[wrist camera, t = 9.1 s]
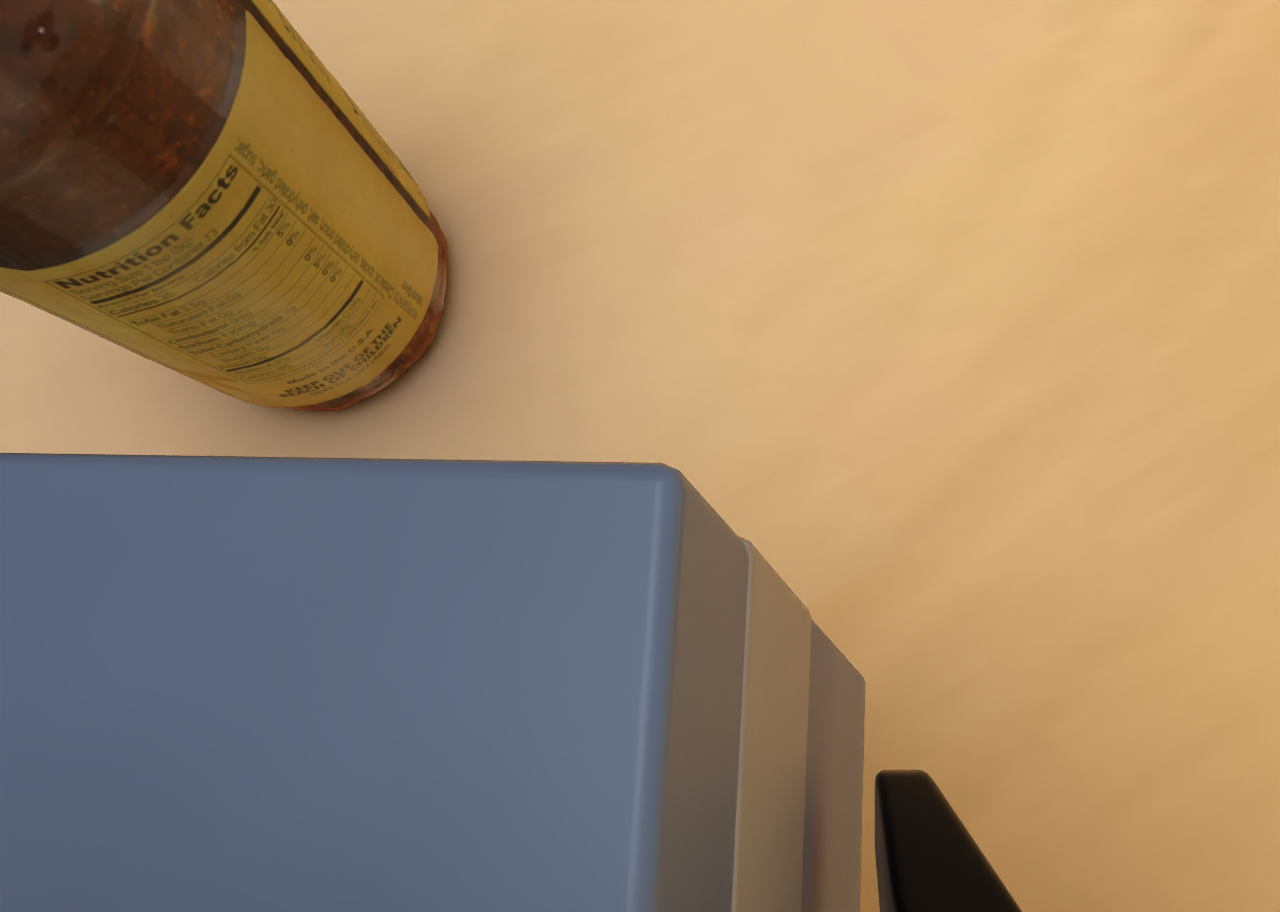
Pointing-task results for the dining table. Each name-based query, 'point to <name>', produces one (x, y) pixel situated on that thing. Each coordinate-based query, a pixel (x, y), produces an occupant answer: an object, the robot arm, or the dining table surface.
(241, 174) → the sauce bottle
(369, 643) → the block
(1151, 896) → the dining table surface
